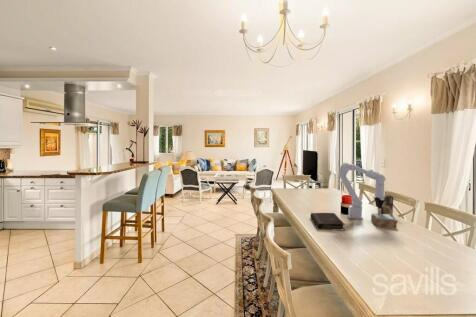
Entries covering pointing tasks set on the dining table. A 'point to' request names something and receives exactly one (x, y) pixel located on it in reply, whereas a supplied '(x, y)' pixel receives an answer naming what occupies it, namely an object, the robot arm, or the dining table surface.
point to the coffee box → (387, 206)
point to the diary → (327, 221)
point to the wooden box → (383, 222)
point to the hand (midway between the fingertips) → (378, 207)
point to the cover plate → (383, 217)
